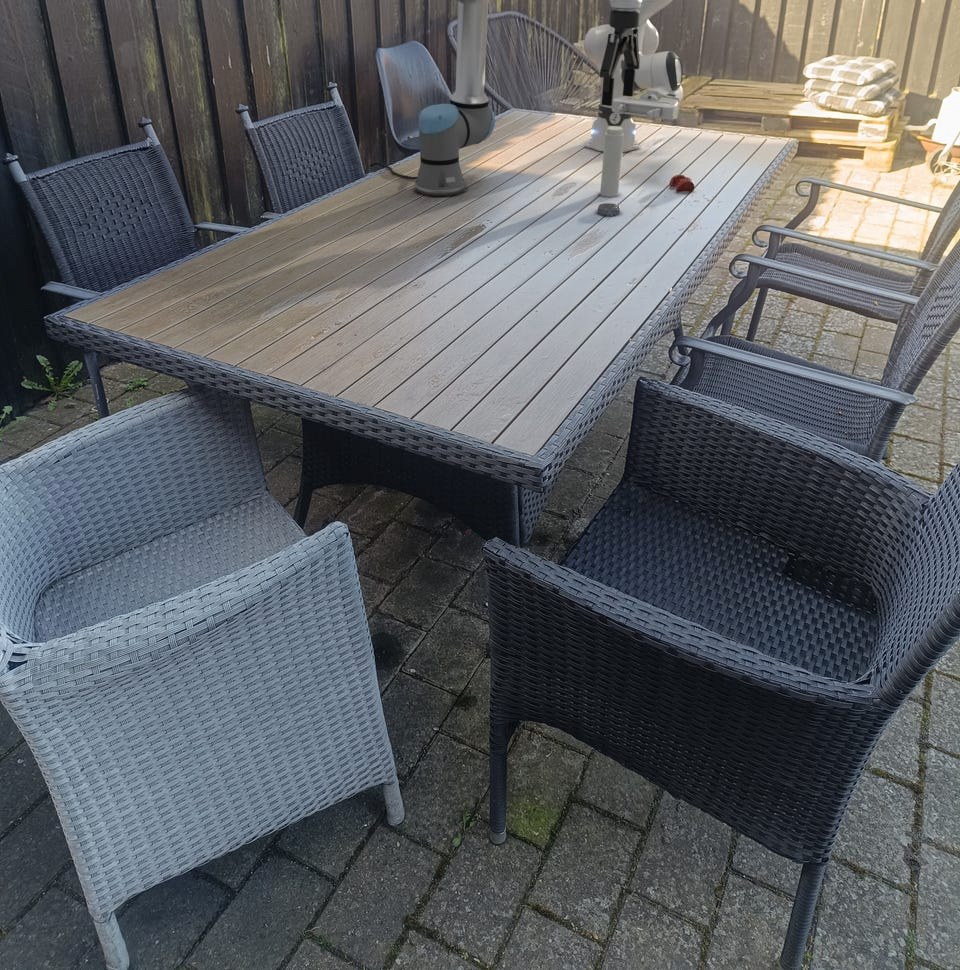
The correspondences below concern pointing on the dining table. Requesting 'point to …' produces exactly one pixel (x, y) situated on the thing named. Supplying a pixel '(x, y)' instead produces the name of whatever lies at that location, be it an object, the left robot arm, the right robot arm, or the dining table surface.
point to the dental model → (681, 183)
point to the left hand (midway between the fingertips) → (617, 100)
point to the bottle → (612, 161)
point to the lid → (608, 209)
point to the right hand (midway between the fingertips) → (634, 112)
